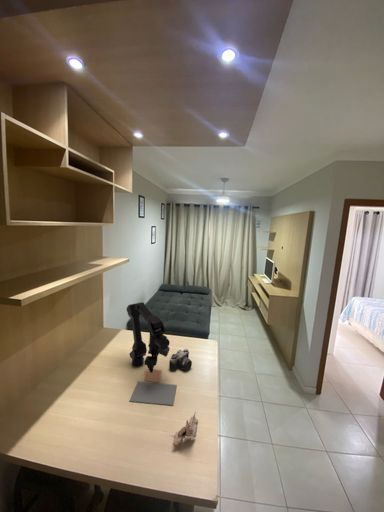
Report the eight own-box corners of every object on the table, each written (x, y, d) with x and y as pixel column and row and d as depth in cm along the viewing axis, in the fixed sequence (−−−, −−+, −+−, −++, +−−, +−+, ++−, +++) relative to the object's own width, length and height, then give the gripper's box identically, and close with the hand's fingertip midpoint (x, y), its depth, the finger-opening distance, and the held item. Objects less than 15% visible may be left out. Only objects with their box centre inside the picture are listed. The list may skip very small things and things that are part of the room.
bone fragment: (187, 420, 102) (200, 405, 100) (197, 435, 98) (211, 421, 96) (167, 436, 89) (182, 420, 87) (178, 454, 85) (193, 438, 83)
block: (144, 380, 124) (145, 370, 123) (145, 378, 126) (146, 368, 125) (160, 382, 124) (160, 372, 123) (161, 379, 126) (161, 370, 125)
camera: (179, 377, 128) (180, 361, 127) (167, 369, 135) (168, 354, 134) (196, 366, 140) (197, 351, 139) (184, 359, 147) (185, 345, 146)
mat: (129, 401, 108) (129, 400, 108) (137, 382, 122) (137, 381, 122) (173, 405, 107) (173, 404, 107) (176, 385, 121) (176, 384, 121)
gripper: (165, 351, 113) (164, 379, 114) (171, 334, 131) (170, 358, 133) (144, 350, 113) (143, 377, 115) (152, 333, 132) (151, 357, 133)
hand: (153, 367), depth 124 cm, fingers open, 9 cm apart
